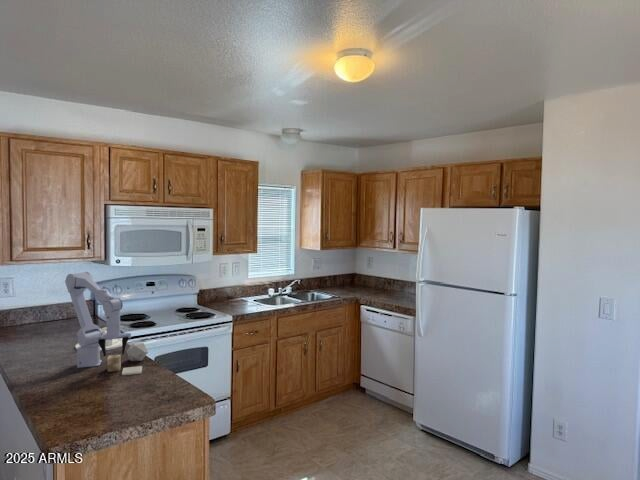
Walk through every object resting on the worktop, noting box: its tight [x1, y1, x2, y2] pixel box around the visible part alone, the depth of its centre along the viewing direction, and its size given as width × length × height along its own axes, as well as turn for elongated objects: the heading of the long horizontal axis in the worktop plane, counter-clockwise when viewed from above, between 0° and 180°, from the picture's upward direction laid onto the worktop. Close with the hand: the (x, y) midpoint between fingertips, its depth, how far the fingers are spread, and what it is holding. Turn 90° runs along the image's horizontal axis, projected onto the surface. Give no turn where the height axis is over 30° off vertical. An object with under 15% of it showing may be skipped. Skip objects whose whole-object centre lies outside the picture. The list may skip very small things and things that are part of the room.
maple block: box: [107, 354, 122, 372], centre depth 204 cm, size 5×5×6 cm
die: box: [126, 342, 149, 362], centre depth 217 cm, size 8×9×10 cm
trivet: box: [121, 365, 143, 376], centre depth 201 cm, size 8×8×1 cm
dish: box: [74, 326, 123, 352], centre depth 243 cm, size 25×25×11 cm
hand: (114, 354), depth 204 cm, fingers open, 7 cm apart
